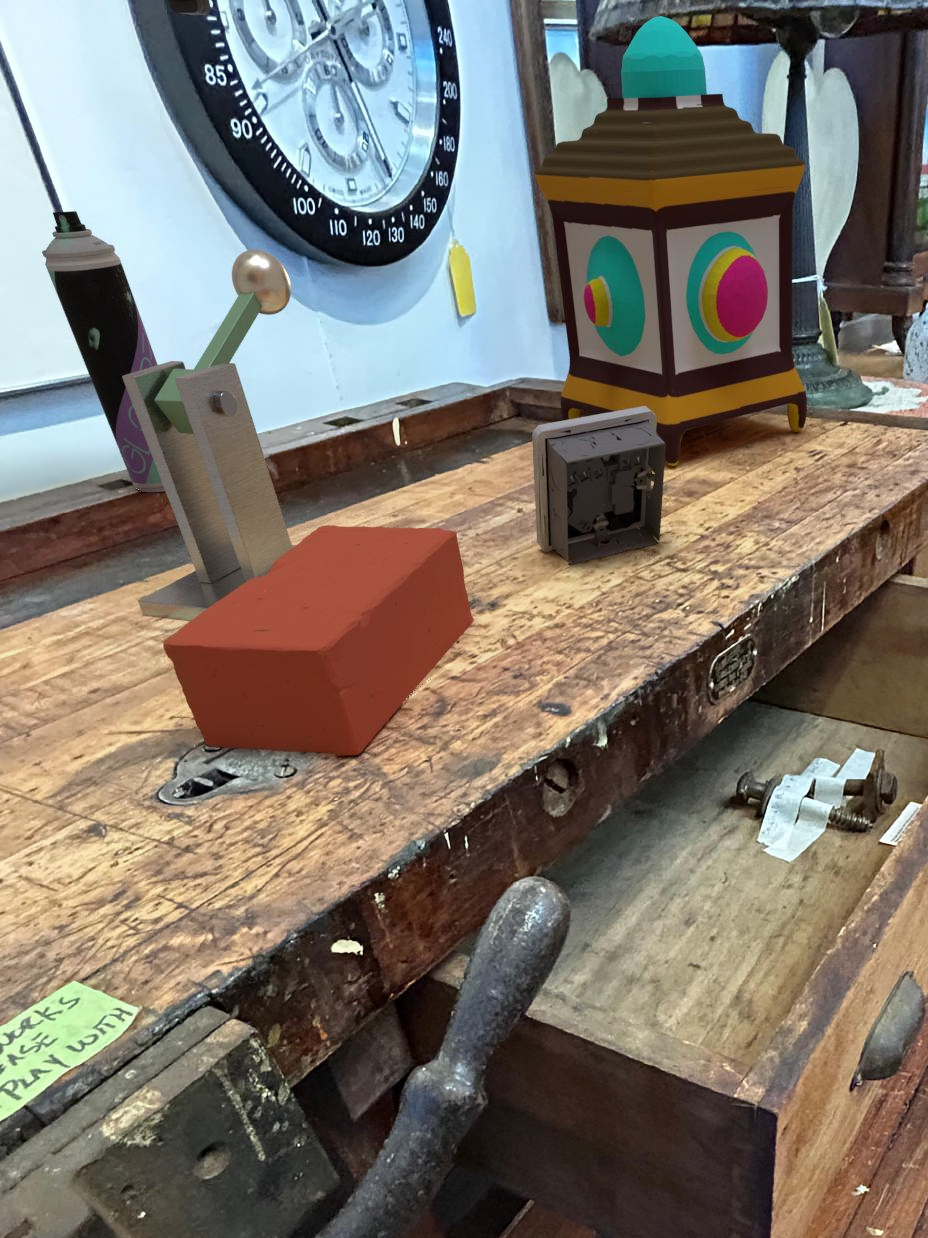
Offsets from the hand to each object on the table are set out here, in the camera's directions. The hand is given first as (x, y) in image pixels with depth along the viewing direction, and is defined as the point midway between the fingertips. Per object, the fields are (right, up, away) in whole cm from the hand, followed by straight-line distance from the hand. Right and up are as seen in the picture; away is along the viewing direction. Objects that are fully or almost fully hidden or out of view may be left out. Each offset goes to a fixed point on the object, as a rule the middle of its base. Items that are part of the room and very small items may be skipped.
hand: (191, 13), depth 71 cm
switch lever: (+5, -26, -2) cm, 26 cm away
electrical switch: (+28, -34, +7) cm, 45 cm away
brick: (+15, -49, -9) cm, 52 cm away
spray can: (-15, -21, +23) cm, 35 cm away
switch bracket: (+3, -39, +2) cm, 39 cm away
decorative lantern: (+33, -13, +30) cm, 46 cm away
